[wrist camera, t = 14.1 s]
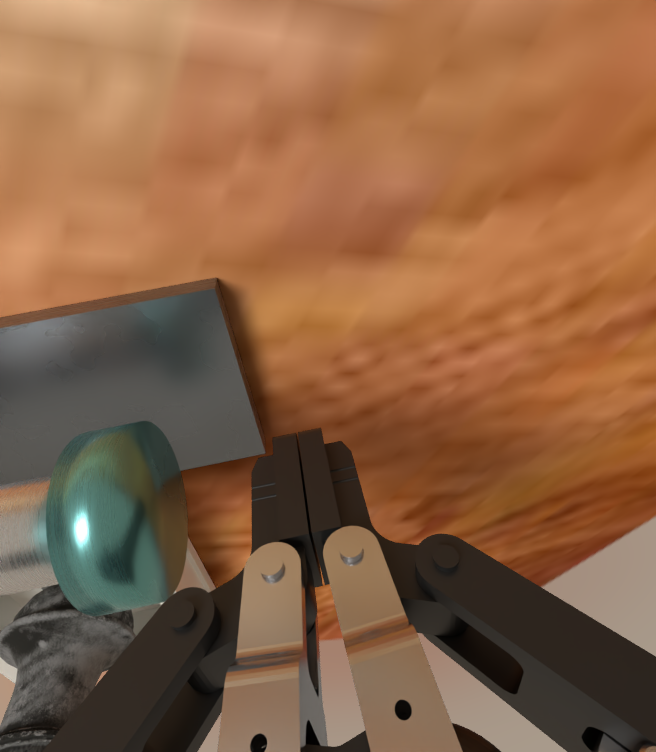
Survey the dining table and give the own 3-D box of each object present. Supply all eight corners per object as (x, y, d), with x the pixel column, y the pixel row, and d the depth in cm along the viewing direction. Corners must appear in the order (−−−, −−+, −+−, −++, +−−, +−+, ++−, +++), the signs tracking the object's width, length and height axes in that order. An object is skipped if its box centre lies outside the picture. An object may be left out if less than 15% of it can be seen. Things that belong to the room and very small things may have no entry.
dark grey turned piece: (143, 607, 25) (75, 942, 15) (29, 603, 23) (-133, 980, 13) (158, 545, 22) (84, 909, 12) (28, 535, 20) (-178, 951, 11)
